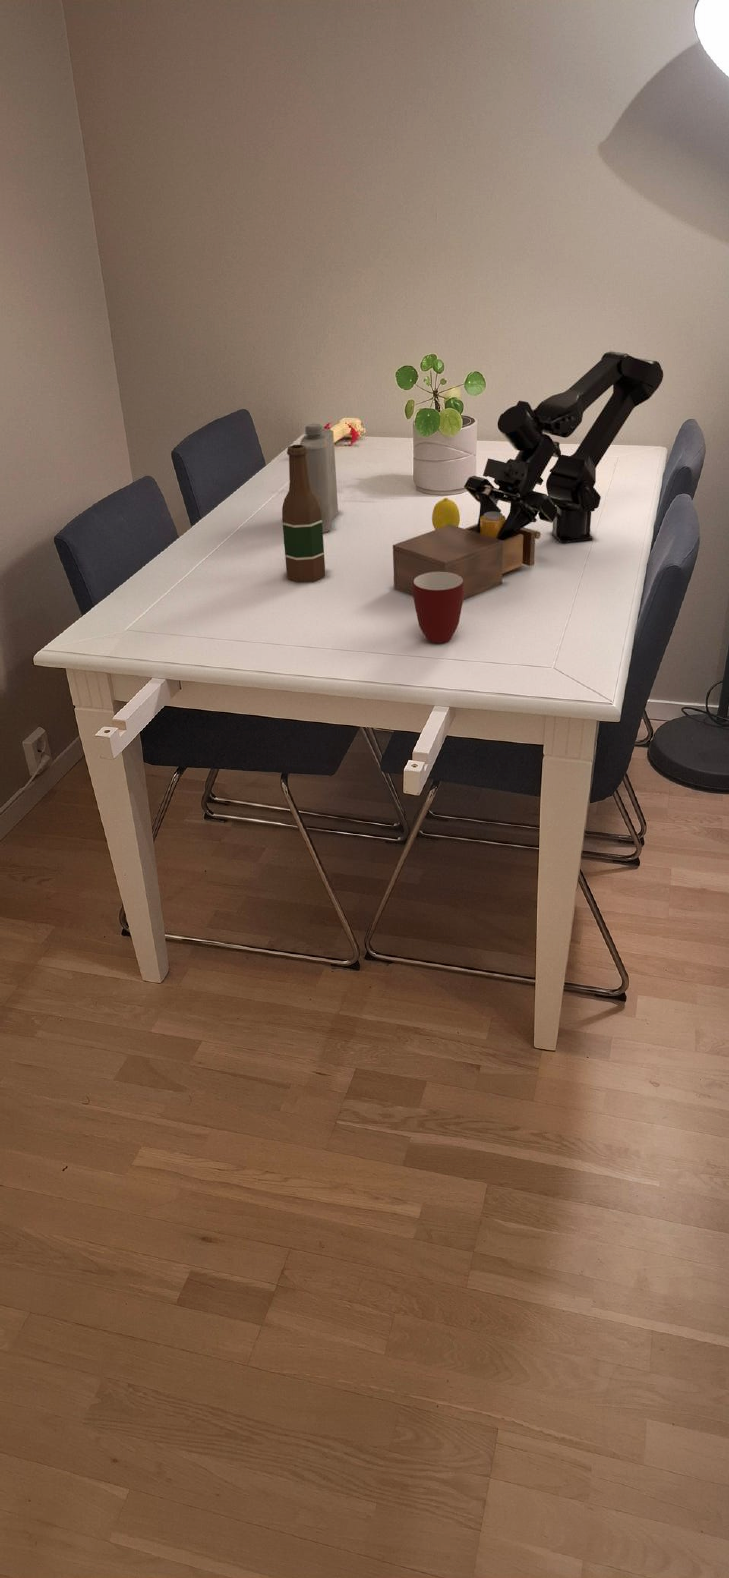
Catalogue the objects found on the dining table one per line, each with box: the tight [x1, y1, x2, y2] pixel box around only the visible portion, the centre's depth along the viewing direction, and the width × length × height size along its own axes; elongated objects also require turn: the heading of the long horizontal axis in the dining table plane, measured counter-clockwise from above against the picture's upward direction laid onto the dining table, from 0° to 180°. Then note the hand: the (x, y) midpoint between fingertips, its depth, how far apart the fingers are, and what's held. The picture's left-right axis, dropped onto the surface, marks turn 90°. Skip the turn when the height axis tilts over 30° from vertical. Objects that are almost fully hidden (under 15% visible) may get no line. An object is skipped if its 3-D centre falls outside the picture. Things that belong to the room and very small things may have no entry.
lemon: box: [431, 497, 461, 530], centre depth 218 cm, size 6×6×8 cm
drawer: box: [464, 523, 542, 575], centre depth 202 cm, size 18×12×6 cm, turn 132°
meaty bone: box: [323, 417, 367, 446], centre depth 279 cm, size 10×9×25 cm
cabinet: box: [392, 525, 503, 601], centre depth 196 cm, size 15×13×8 cm
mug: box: [412, 572, 464, 644], centre depth 177 cm, size 10×8×10 cm
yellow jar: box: [480, 512, 507, 538], centre depth 201 cm, size 5×5×7 cm
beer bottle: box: [281, 444, 326, 583], centre depth 199 cm, size 8×8×24 cm
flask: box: [299, 423, 339, 534], centre depth 226 cm, size 15×6×20 cm, turn 173°
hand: (487, 538), depth 200 cm, fingers closed on yellow jar, 5 cm apart
